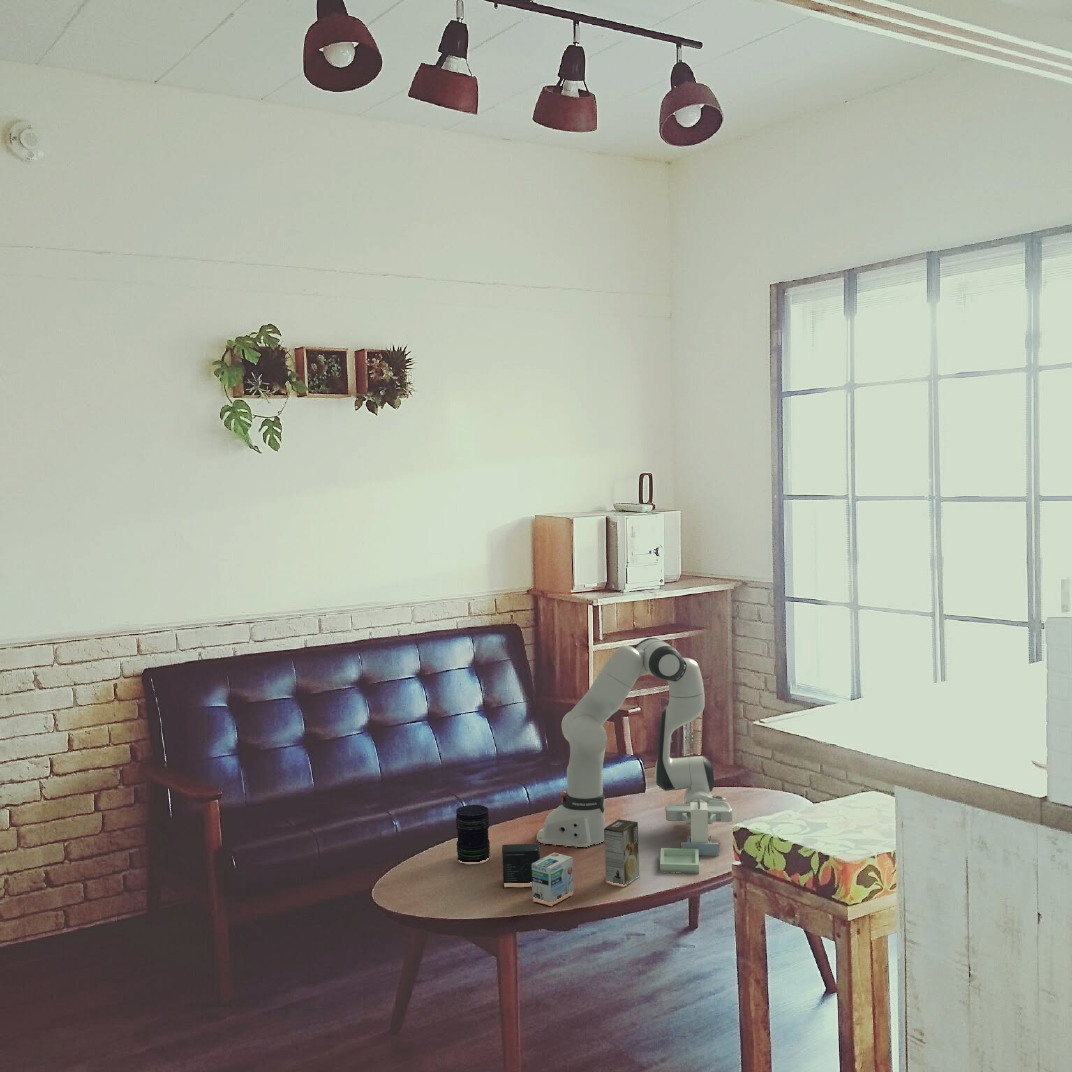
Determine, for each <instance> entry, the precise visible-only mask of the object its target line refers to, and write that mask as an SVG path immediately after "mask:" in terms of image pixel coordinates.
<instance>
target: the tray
mask: <svg viewBox="0 0 1072 1072" xmlns="http://www.w3.org/2000/svg"><path fill="white" fill-rule="evenodd" d="M699 856H700V855H699V853H698V849H683V848H681V847H680V848H679V847H678V848H677V847H676V848H675V847H673V848H671V847H661V848H660V859H659V862H660V863H659V868H660V869H659V871H660V872H669V873H668V874H672V873H671V872H675V873H674V874H677V873H676V872H681V873H680V874H700V860H699V859H700V858H699Z"/></svg>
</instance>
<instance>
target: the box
mask: <svg viewBox="0 0 1072 1072" xmlns="http://www.w3.org/2000/svg"><path fill="white" fill-rule="evenodd" d="M540 848H541V847H540V843H538V842H537V843H518V844H517V843H516V844H514V843H513V844H512V843H511V844H502V846H501V856H502V859H501V860H502V863H501V864H502V884H503V883H530V882H532V863H534V862H536V861H538V860H540V859H541V853H540V852H541V851H540V850H541V849H540Z"/></svg>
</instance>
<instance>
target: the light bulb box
mask: <svg viewBox="0 0 1072 1072" xmlns="http://www.w3.org/2000/svg"><path fill="white" fill-rule="evenodd" d="M531 888H532V890H531V891H532V898H533V897H535V898H538V899H541V900H544V901H547V902H554V901H556V900H557V899H559V898H561V897H563V896H564V895H566V894H568V893H569V892H572V891H573V892H574V857H573V856H569V855H565V854H561V853H558V852H553V853H550V854H548V855H545V856H544V857H541V858H540V860H538V861H536V862H534V863H532V887H531Z"/></svg>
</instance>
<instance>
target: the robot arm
mask: <svg viewBox="0 0 1072 1072" xmlns="http://www.w3.org/2000/svg"><path fill="white" fill-rule="evenodd" d="M644 674H648V675H650V676H651V677H654V678H656V679H658V680H661V681H666V682H667V684H668V693H669V694H668V695H669V700H668V705H667V706H666V708H665V709H663V710H662V712H661V714H660V721H659V728H658V739H657V740H658V741H657V757H656V763H655V766H654V780H655V783H656V786H658V787H659V788H660V789H661V790H663V791H665V792H669V791H675V790H680V789H682V790H683V789H685V790H684V795H683V802H681V803H680V802H679V803H678V802H671V803H668V804H667V805H665V807H664V812H665V820H666V821H668V822H685V824H686V825H687V824H688V825H691V809H690V802H698V798H700V802H703V803H707V808H708V825H713V823H731V822H733V809H732V806H731V804H730V803H729V802H727V798H726V797H724V796H720V795H713V794H712V793H711V792H712V791H713V790H714V787H715V776H714V770H713V766H712V763H711V761H710V760H709V759H708V758H707V757H706V756H704V755H701V756H699V755H698V756H688V757H687V756H686V757H671V756H670V752H671V741H672V735H673V733H674V731H676V730H678V728H681V727H682V726H684V725H686V724H689V723H691V722H692V721H694V720H696V719H697V718H698V717H700V715H701V714H702V713H703V712H704V710H705V706H706V703H705V702H706V700H705V699H706V697H705V696H706V695H705V688H704V687H705V686H704V681H703V676H702V673H701V669H700V666H699V664H698V662H697V661H695V659H692V658H689V657H683V656H682V654H681V653H680V652H679V651H678V650H677V649H676V648H675V647H674V646H673V647H672V646H671V645H670V644H669V643H668V642H666V641H663V640H661V639H658V638H656V637H655V638H654V637H648V638H645V639H643V640H641V641H639V642H638V643H637V644H635V645H633V646H631V645H622V646H619V647H617V649H616V650H615V651H614V652H613V654H611V655H610V657H609V658H608V659H607V661H606V662H605V664H604V665H603V667H602V668H601V670H600V671H599V673H598V675H597V677H596V678H595V679H594V682H593V683H592V684H591V686H590V687H589V689H588V690H587V692H585V694H584V695H583V697H582V698H581V699H579V701H578V702H577V703H576V704H575V705H574V707H573V708H572V709H571V710H570V711H568V712H567V713H566V714H565V715H564V716H563V717H562V721H561V733H562V736H563V737H564V739H565V740H566V741H567V742H568V743H569V750H570V751H569V760H568V761H569V762H568V765H567V767H566V782H567V783H566V785H567V786H566V787H567V789H566V790H562V791H561V793H560V803H561V804H560V805H559V806H558V807H556V808H555V809H554V810H552V811H551V812H549V814H548V815H547V816H546V817H545V820H544V823H543V827H542V828H541V829H540V830H538V832H537V834H536V841H537V840H538V841H540V842H542V843H547V844H562V845H571V846H582V847H586V846H589V847H591V846H590V845H591V844H595V845H600V844H602V843H601V842H603V841H604V828H606V827H607V825H606V819H605V808H606V803H605V802H606V801H605V800H606V799H605V798H606V797H605V792H604V791H603V790H604V789H603V788H604V785H603V783H604V781H603V769H604V768H603V766H604V760H605V759H604V758H605V754H606V753H605V752H606V747H607V745H608V734H607V731H606V729H605V727H604V726H603V725H604V723H606V721H608V719H610V717H611V716H612V715H613V714H615V713H616V712H618V711H619V710H620V708H621V707H622V705H623V703H625V701H626V699H627V697H628V695H629V694H630V692H631V691H632V688H633V687H634V686H635V684H636V683H637V682H636V681H637V680H638V679H639V678H640V677H641V676H642V675H644ZM599 843H600V844H599ZM603 843H604V842H603Z"/></svg>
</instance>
